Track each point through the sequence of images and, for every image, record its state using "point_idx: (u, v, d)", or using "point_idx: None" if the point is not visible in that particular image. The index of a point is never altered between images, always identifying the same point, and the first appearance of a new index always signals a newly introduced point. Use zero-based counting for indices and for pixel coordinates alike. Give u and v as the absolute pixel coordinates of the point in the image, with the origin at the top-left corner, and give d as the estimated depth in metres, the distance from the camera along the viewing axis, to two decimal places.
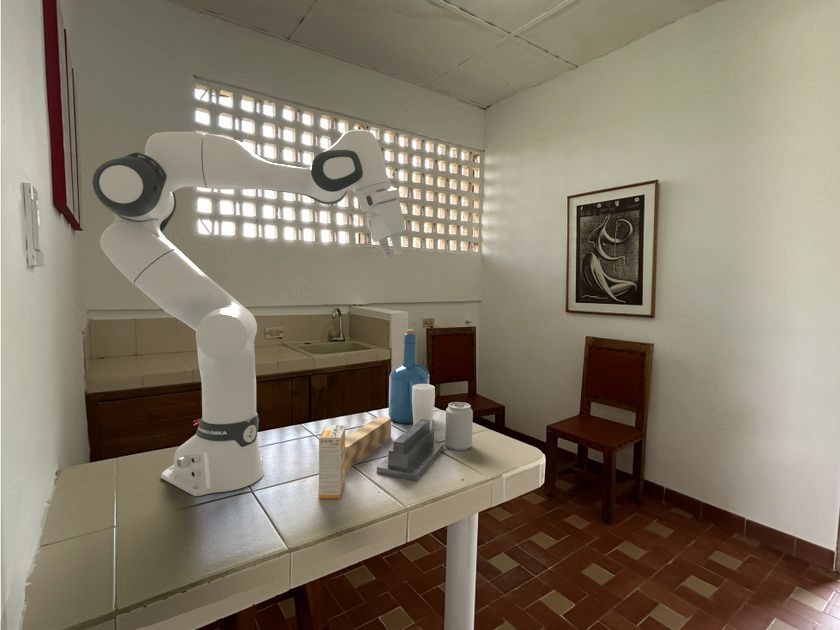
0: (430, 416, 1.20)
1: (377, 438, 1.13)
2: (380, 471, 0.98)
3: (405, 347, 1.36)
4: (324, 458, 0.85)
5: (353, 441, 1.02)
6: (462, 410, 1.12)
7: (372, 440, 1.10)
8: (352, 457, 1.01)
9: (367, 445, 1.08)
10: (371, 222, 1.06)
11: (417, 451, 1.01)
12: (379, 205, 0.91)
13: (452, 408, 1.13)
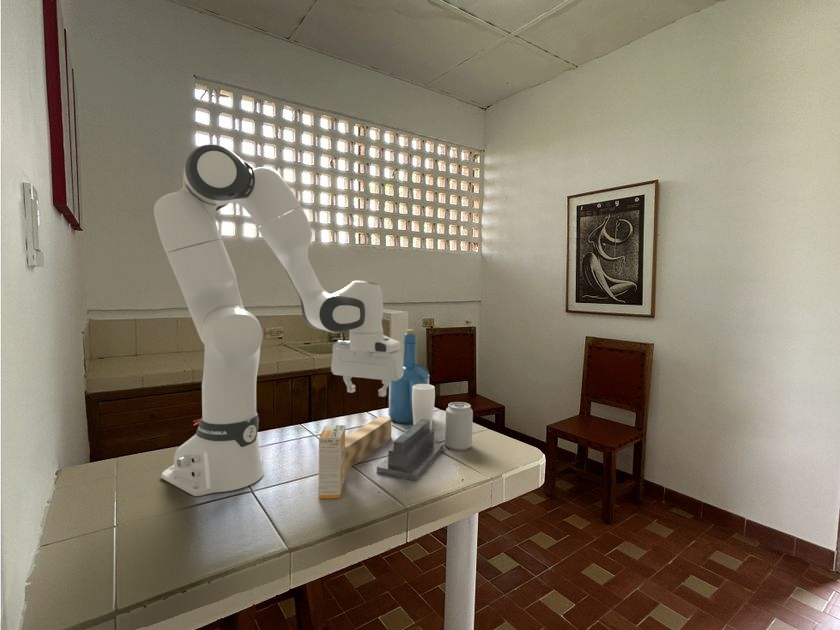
0: (430, 416, 1.20)
1: (377, 438, 1.13)
2: (380, 471, 0.98)
3: (405, 347, 1.36)
4: (324, 458, 0.85)
5: (353, 441, 1.02)
6: (462, 410, 1.12)
7: (372, 440, 1.10)
8: (352, 457, 1.01)
9: (367, 445, 1.08)
10: (343, 357, 1.10)
11: (417, 451, 1.01)
12: (392, 354, 1.04)
13: (452, 408, 1.13)
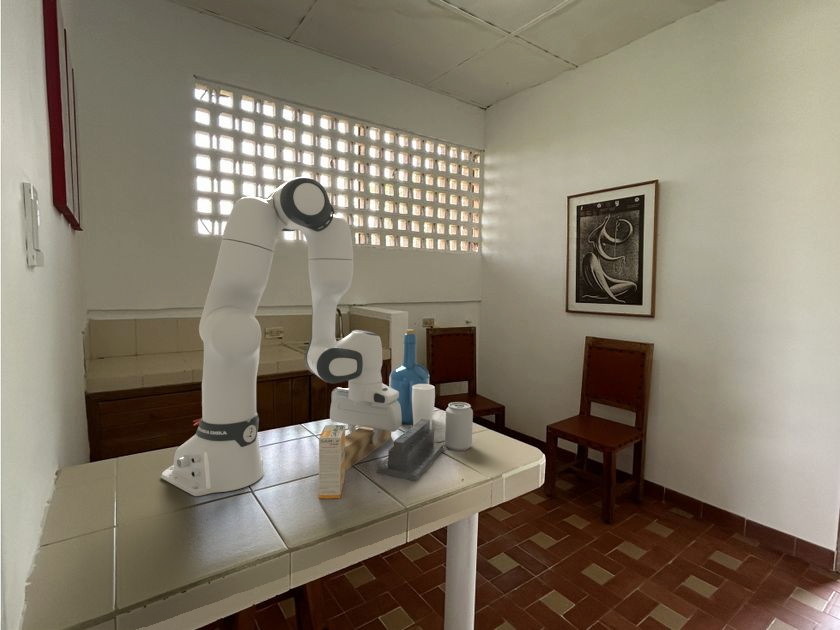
0: (430, 416, 1.20)
1: (377, 438, 1.13)
2: (380, 471, 0.98)
3: (405, 347, 1.36)
4: (324, 458, 0.85)
5: (353, 440, 1.02)
6: (462, 410, 1.12)
7: None
8: (352, 456, 1.01)
9: (367, 444, 1.08)
10: (342, 405, 1.11)
11: (417, 451, 1.01)
12: (390, 406, 1.04)
13: (452, 408, 1.13)
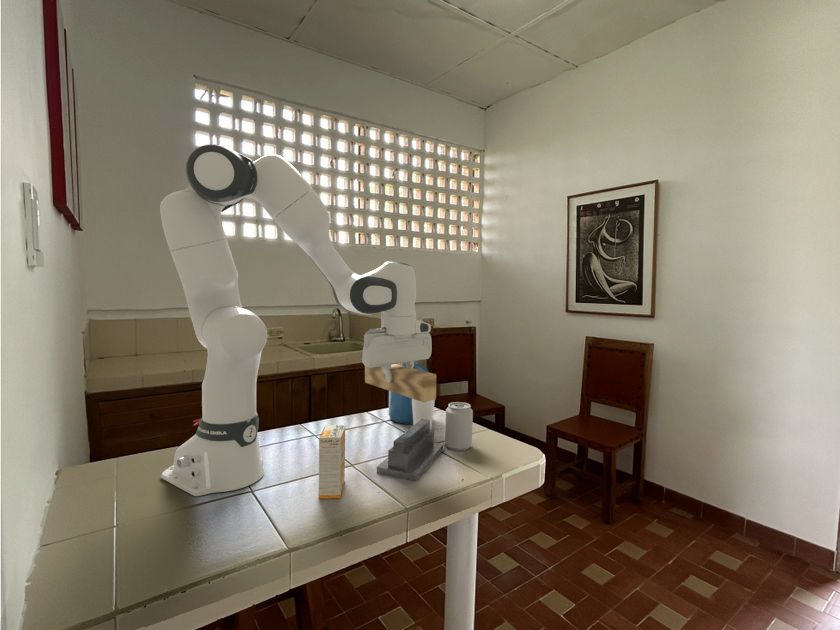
0: (430, 416, 1.20)
1: None
2: (380, 471, 0.98)
3: None
4: (324, 458, 0.85)
5: (423, 371, 1.00)
6: (462, 410, 1.12)
7: None
8: None
9: None
10: (383, 346, 1.00)
11: (417, 451, 1.01)
12: None
13: (452, 408, 1.13)
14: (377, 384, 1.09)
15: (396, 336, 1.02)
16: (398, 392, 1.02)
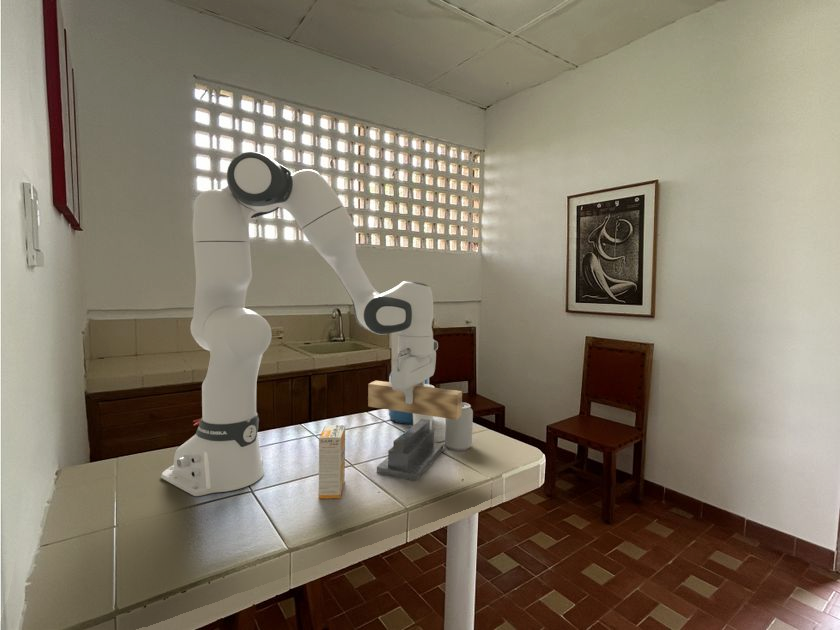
0: (430, 416, 1.20)
1: None
2: (380, 471, 0.98)
3: None
4: (324, 458, 0.85)
5: (446, 389, 1.03)
6: (462, 410, 1.12)
7: None
8: None
9: None
10: (411, 368, 0.98)
11: (417, 451, 1.01)
12: None
13: None
14: (388, 407, 1.05)
15: (419, 356, 1.01)
16: (420, 413, 1.02)
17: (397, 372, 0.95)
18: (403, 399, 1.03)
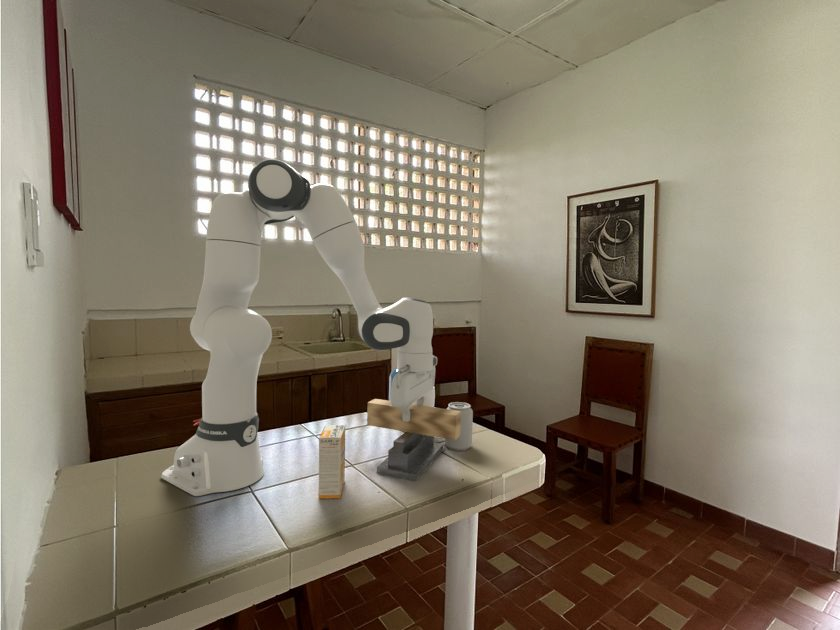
0: None
1: None
2: (380, 471, 0.98)
3: None
4: (324, 458, 0.85)
5: (445, 409, 1.03)
6: (462, 410, 1.12)
7: None
8: None
9: None
10: (410, 384, 0.98)
11: (417, 451, 1.01)
12: None
13: (452, 408, 1.13)
14: (387, 426, 1.05)
15: (418, 373, 1.01)
16: (419, 432, 1.02)
17: (396, 389, 0.95)
18: None
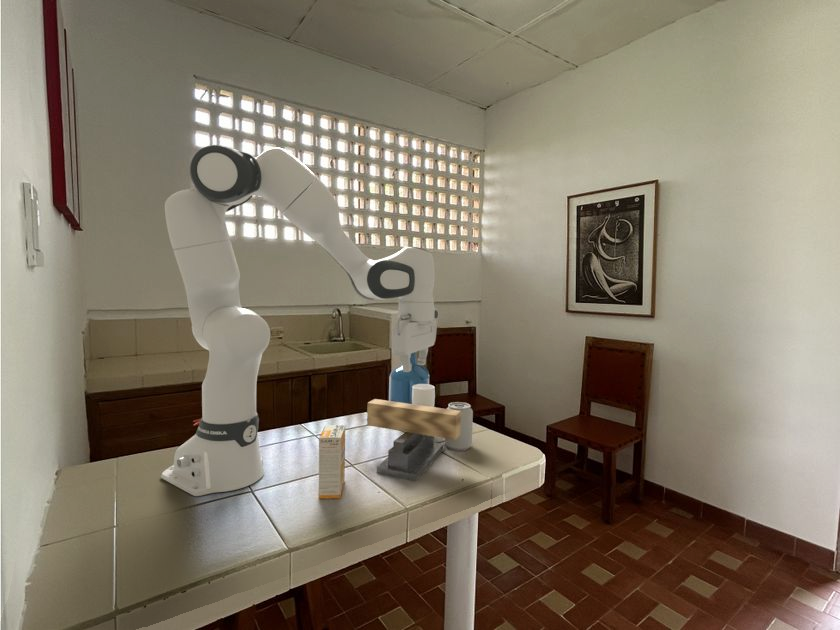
0: None
1: None
2: (380, 471, 0.98)
3: None
4: (324, 458, 0.85)
5: (445, 409, 1.03)
6: (462, 410, 1.12)
7: None
8: None
9: None
10: (411, 333, 0.97)
11: (417, 451, 1.01)
12: None
13: (452, 408, 1.13)
14: (387, 426, 1.05)
15: (419, 323, 1.00)
16: (419, 432, 1.02)
17: (398, 336, 0.94)
18: (402, 418, 1.04)
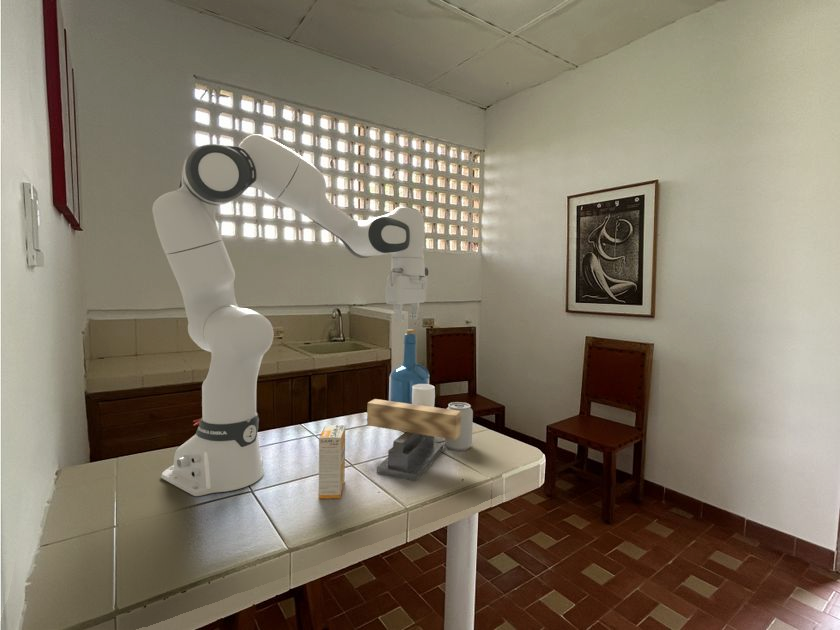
0: None
1: None
2: (380, 471, 0.98)
3: (405, 347, 1.36)
4: (324, 458, 0.85)
5: (445, 409, 1.03)
6: (462, 410, 1.12)
7: None
8: None
9: None
10: (403, 285, 1.06)
11: (417, 451, 1.01)
12: None
13: (452, 408, 1.13)
14: (387, 426, 1.05)
15: (411, 277, 1.09)
16: (419, 432, 1.02)
17: (390, 286, 1.03)
18: (402, 418, 1.04)
